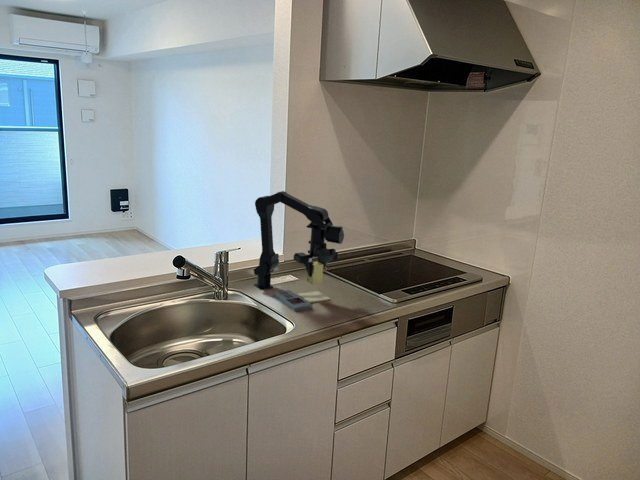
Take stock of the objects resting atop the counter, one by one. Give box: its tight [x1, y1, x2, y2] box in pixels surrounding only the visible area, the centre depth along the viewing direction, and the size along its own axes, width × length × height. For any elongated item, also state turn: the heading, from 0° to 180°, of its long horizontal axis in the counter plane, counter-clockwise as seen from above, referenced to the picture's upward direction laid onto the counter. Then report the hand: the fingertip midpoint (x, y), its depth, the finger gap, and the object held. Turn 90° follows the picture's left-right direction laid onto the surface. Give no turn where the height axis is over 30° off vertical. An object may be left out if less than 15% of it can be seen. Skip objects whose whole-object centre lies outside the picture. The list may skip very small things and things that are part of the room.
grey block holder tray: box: [272, 289, 313, 312], centre depth 198 cm, size 18×8×2 cm, turn 34°
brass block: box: [306, 261, 324, 285], centre depth 203 cm, size 4×4×8 cm
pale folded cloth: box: [297, 290, 331, 304], centre depth 205 cm, size 10×10×1 cm
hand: (314, 276), depth 203 cm, fingers closed on brass block, 4 cm apart
